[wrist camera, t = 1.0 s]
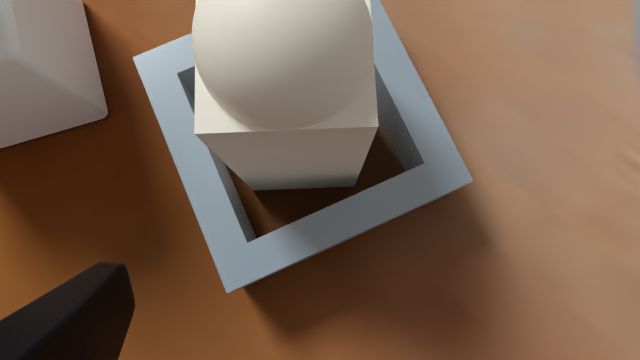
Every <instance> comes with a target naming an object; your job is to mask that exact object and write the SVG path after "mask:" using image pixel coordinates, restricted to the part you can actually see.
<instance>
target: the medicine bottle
mask: <svg viewBox="0 0 640 360" xmlns="http://www.w3.org/2000/svg"><path fill="white" fill-rule="evenodd" d="M107 115H108V110H107V105H106V101H105V97H104V92H103V88H102V84H101V79H100V75H99V71H98V66H97V62H96V58H95V53H94V49H93V45H92V40H91V36H90V32H89V27H88V23H87V19H86V14H85V10H84V6H83V1H82V0H0V149H1V148H4V147H8V146H11V145H14V144H18V143H21V142H25V141H28V140H32V139H35V138H38V137H42V136H45V135H49V134H52V133H56V132H59V131H63V130H66V129H69V128H73V127H76V126H80V125H83V124H87V123H90V122H93V121H97V120H100V119H103V118H105V117H106V116H107Z"/></svg>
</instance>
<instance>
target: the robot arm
mask: <svg viewBox="0 0 640 360" xmlns="http://www.w3.org/2000/svg"><path fill="white" fill-rule="evenodd" d="M134 309H135V299H134V294H133V290H132V285H131V281H130V277H129V272H128V269H127V267H126V266H125V265H124V264H122V263H114V262H100V263H97V264H95V265H93V266H92V267H90V268H88V269H87V270H85V271H83V272H81V273H80V274H78V275H76V276H75V277H73V278H71V279H70V280H68V281H66V282H65V283H63V284H61V285H60V286H58V287H56V288H55V289H53V290H51V291H50V292H48V293H46V294H44V295H43V296H41V297H39V298H38V299H36V300H34V301H33V302H31V303H29V304H28V305H26V306H24V307H23V308H21V309H19V310H18V311H16V312H14V313H12V314H11V315H9V316H7V317H6V318H4V319H2V320H1V321H0V360H118V358H119V355H120V352H121V349H122V346H123V343H124V340H125V337H126V334H127V331H128V328H129V325H130V323H131V320H132V317H133V313H134Z"/></svg>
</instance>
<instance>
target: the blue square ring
mask: <svg viewBox="0 0 640 360" xmlns="http://www.w3.org/2000/svg"><path fill="white" fill-rule="evenodd" d="M370 4H371V20H372V29H373V51H374V66H375V82H376V97H377V113H378V117H379V119H380V121H381V123H382V125H383V127H384V129H385V131H386V133H387V135H388V137H389V139H390V141H391V143H392V145H393V147H394V149H395V151H396V153H397V155H398V157H399V159H400V161H401V163H402V165H403V168H404V170H405V172H404V173H402V174H400V175H397V176H395V177H393V178H391V179H388V180H386V181H384V182H382V183H379V184H377V185H375V186H373V187H371V188H368V189H366V190H364V191H362V192H359V193H357V194H355V195H353V196H350V197H348V198H346V199H344V200H342V201H339V202H337V203H335V204H333V205H330V206H328V207H326V208H324V209H322V210H319V211H317V212H315V213H313V214H310V215H308V216H306V217H304V218H301V219H299V220H297V221H295V222H293V223H290V224H288V225H286V226H284V227H281V228H279V229H277V230H275V231H273V232H270V233H268V234H266V235H264V236H261V237H259V238H256V236H255V233H254V231H253V228H252V226H251V224H250V221H249V219H248V217H247V214H246V212H245V209H244V207H243V205H242V202H241V200H240V198H239V195H238V193H237V190H236V188H235V186H234V183H233V181H232V178H231V176H230V174H229V171H228V169H227V167H226V164H225V163H224V162H223V161H222V160H221V159H220V158H219V157H218V156H217V155H216V154H215V153H214V152H213V151H212V150H210V149H209V148H208V147H207V146H206V145H205V144H204V143H203V142H202V141H201V140H200V139H199V138H198V137H197V136H196V135H195V134H194V115H195V60H194V55H193V50H192V33H190V34H188V35H186V36H183V37H181V38H178V39H176V40H173V41H171V42H169V43H166V44H164V45H161V46H159V47H156V48H154V49H152V50H149V51H147V52H144V53H142V54H140V55H137V56H135V57H133V60H134V62H135V65H136V67H137V70H138V72H139V75H140V77H141V80H142V82H143V85H144V87H145V90H146V92H147V95H148V97H149V100H150V102H151V105H152V107H153V110H154V112H155V115H156V117H157V120H158V122H159V125H160V127H161V130H162V132H163V135H164V137H165V140H166V142H167V145H168V147H169V150H170V152H171V155H172V157H173V160H174V162H175V165H176V167H177V170H178V172H179V175H180V177H181V180H182V182H183V185H184V187H185V190H186V192H187V195H188V197H189V200H190V202H191V205H192V207H193V210H194V212H195V215H196V217H197V220H198V222H199V225H200V227H201V230H202V232H203V235H204V237H205V240H206V242H207V245H208V247H209V250H210V252H211V255H212V257H213V260H214V263H215V265H216V268H217V270H218V273H219V275H220V278H221V280H222V283H223V285H224V288H225V290H226V293H229V292H232V291H235V290H238V289H241V288H244V287H246V286H248V285H250V284H252V283H255V282H257V281H259V280H261V279H263V278H266V277H268V276H270V275H272V274H274V273H277V272H279V271H281V270H283V269H285V268H288V267H290V266H292V265H294V264H296V263H299V262H301V261H303V260H305V259H307V258H310V257H312V256H314V255H316V254H318V253H320V252H323V251H325V250H327V249H329V248H331V247H334V246H336V245H338V244H340V243H342V242H345V241H347V240H349V239H351V238H353V237H356V236H358V235H360V234H362V233H364V232H367V231H369V230H371V229H373V228H375V227H378V226H380V225H382V224H384V223H386V222H389V221H391V220H393V219H395V218H397V217H399V216H402V215H404V214H406V213H408V212H410V211H413V210H415V209H417V208H419V207H421V206H424V205H426V204H428V203H430V202H432V201H435V200H437V199H439V198H441V197H443V196H446V195H448V194H450V193H452V192H454V191H456V190H458V189H459V188H461V187H463V186H465V185H467V184H469V183H471V182H473V179H472V177H471V175H470V173H469V171H468V169H467V167H466V165H465V163H464V161H463V159H462V158H461V156H460V154H459V152H458V150H457V148H456V146H455V144H454V142H453V140H452V138H451V136H450V135H449V133H448V131H447V129H446V127H445V125H444V123H443V121H442V119H441V117H440V115H439V113H438V112H437V110H436V108H435V106H434V104H433V102H432V100H431V98H430V96H429V94H428V92H427V90H426V89H425V87H424V85H423V83H422V81H421V79H420V77H419V75H418V73H417V71H416V69H415V67H414V66H413V64H412V62H411V60H410V58H409V56H408V54H407V52H406V50H405V48H404V46H403V44H402V42H401V41H400V39H399V37H398V35H397V33H396V31H395V29H394V27H393V25H392V23H391V21H390V19H389V18H388V16H387V14H386V12H385V10H384V8H383V6H382V4H381V2H380V0H370Z"/></svg>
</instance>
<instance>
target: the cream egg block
mask: <svg viewBox="0 0 640 360" xmlns="http://www.w3.org/2000/svg"><path fill="white" fill-rule="evenodd" d="M192 50H193V55H194V60H195V115H194V134H195V135H196V136H197V137H198V138H199V139H200V140H201V141H202V142H203V143H204V144H205V145H206V146H207V147H208V148H209V149H210V150H212V151H213V152H214V153H215V154H216V155H217V156H218V157H219V158H220V159H221V160H222V161H223V162H224V163H225V164H226V165H227V166H228V167H229V168H230V169H231V170H232V171H233V172H234V173H235V174H236V175H238V176H239V177H240V178H241V179H242V180H243V181H244V182H245V183H246V184H247V185H248V186H249V187H250V188H251V189H252V190H253V191H254V190H280V189H305V188H330V187H354V186H355V184H356V181H357V179H358V176H359V174H360V171H361V169H362V166H363V164H364V161H365V159H366V156H367V154H368V151H369V149H370V146H371V144H372V141H373V139H374V136H375V134H376V131H377V129H378V113H377V97H376V82H375V66H374V51H373V29H372V20H371V4H370V0H196V9H195V13H194V17H193V25H192Z"/></svg>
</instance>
